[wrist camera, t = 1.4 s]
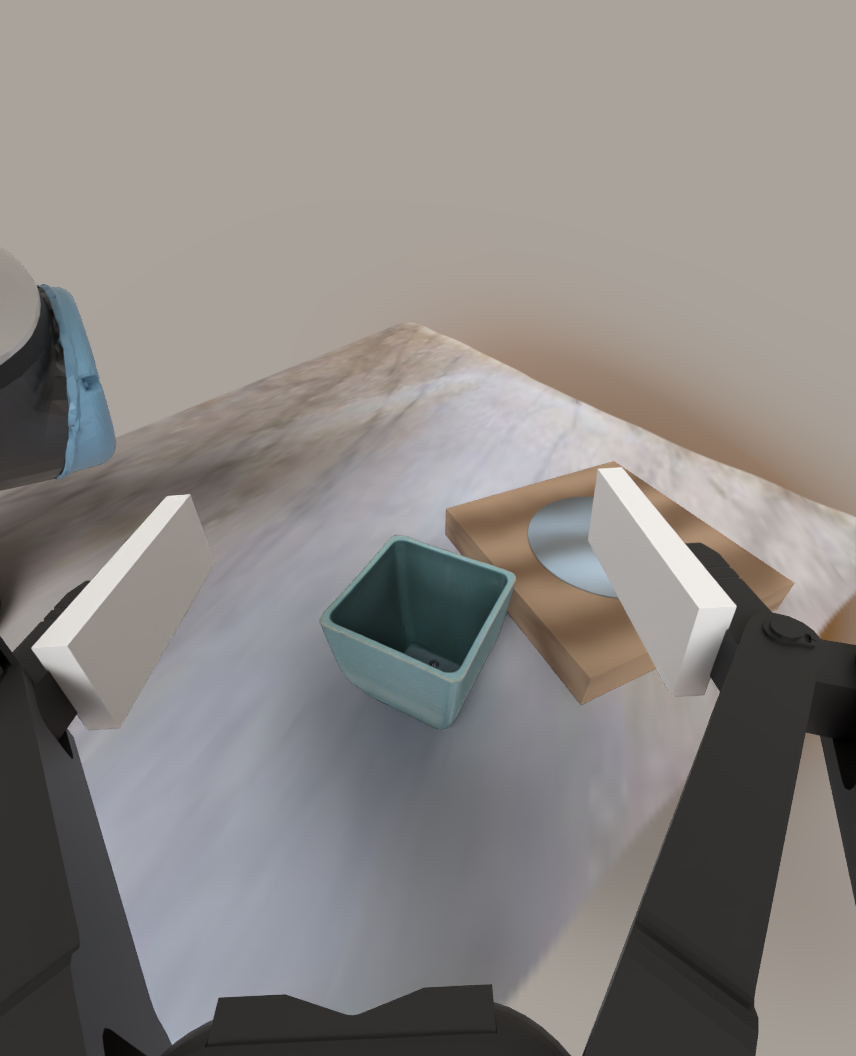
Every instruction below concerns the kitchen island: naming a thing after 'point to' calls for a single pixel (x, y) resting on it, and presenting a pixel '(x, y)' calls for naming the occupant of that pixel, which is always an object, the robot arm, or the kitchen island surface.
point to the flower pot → (418, 627)
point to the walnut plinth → (580, 574)
